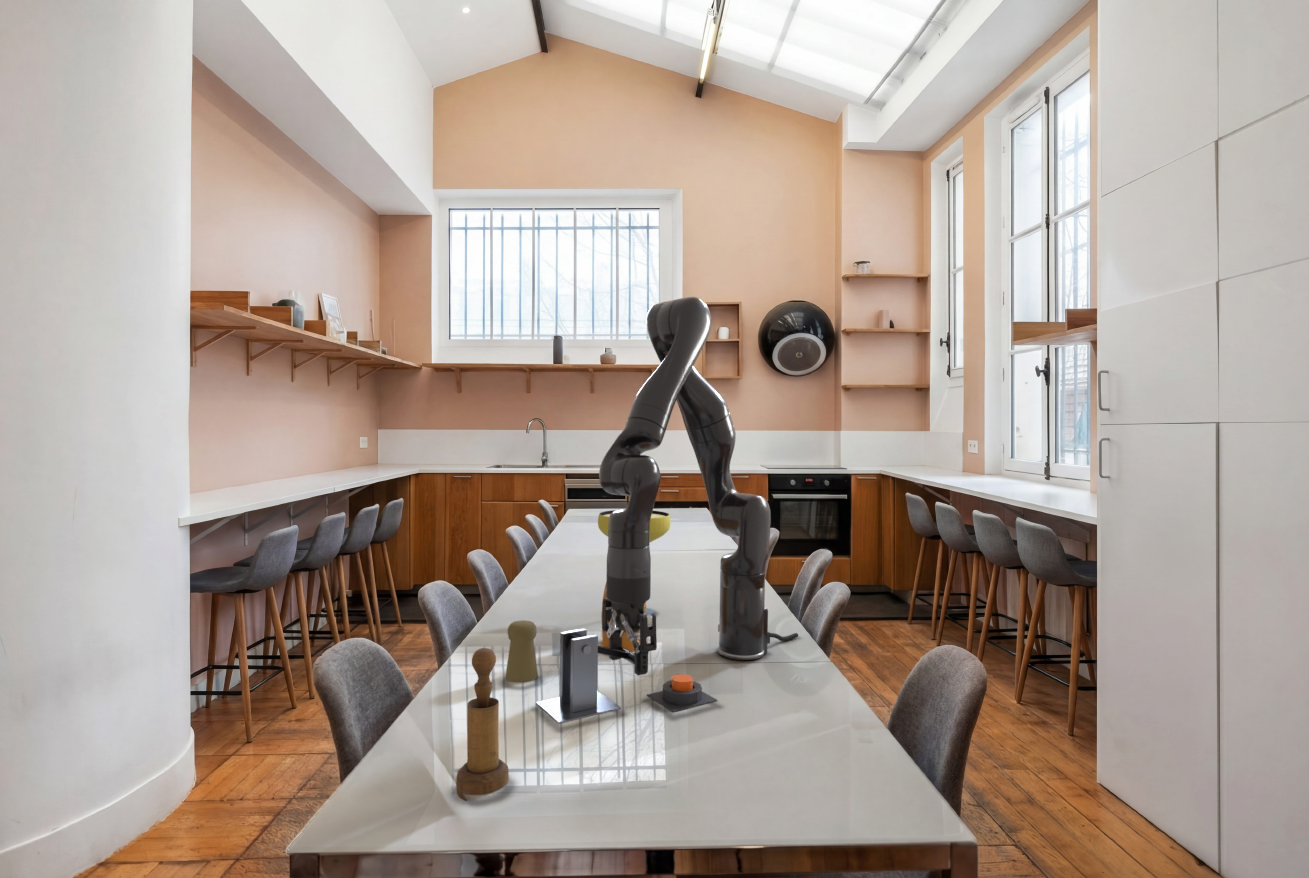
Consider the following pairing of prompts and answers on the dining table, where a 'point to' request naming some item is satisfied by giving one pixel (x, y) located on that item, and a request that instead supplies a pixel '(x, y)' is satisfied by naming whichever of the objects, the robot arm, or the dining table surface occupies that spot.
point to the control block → (681, 697)
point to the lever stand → (578, 680)
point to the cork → (521, 652)
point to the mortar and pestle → (482, 735)
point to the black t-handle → (610, 651)
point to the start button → (682, 682)
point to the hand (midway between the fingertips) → (627, 666)
